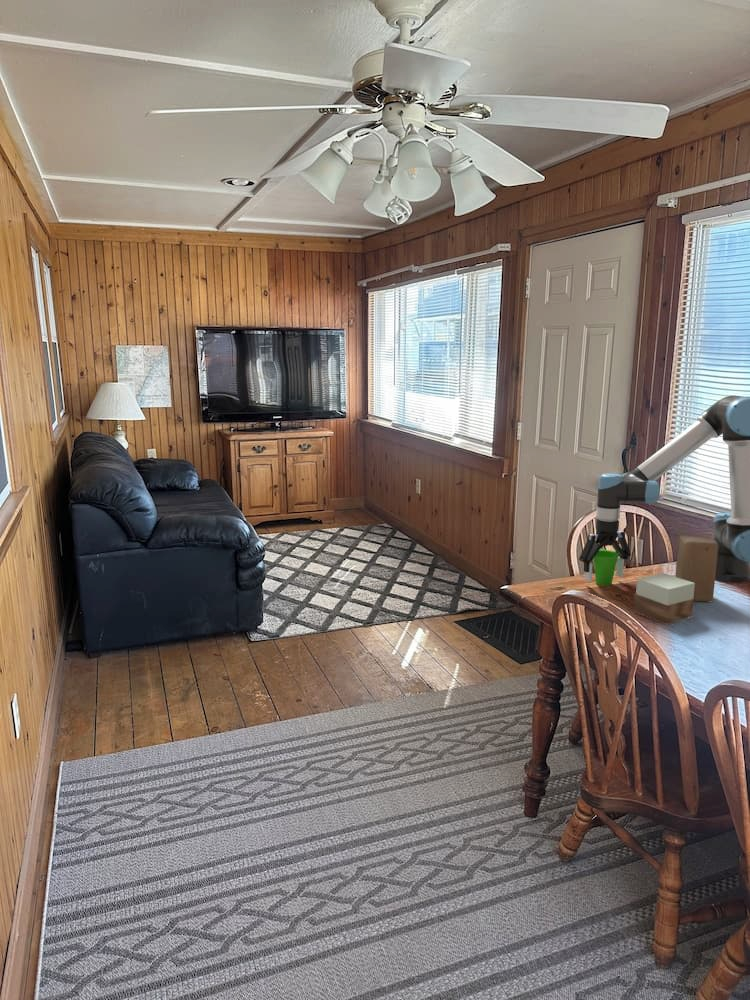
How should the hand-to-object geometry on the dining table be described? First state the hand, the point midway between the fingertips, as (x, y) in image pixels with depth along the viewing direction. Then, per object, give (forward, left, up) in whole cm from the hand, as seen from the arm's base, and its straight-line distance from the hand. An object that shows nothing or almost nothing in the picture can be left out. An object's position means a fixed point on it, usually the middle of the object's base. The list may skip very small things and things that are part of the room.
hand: (603, 578), depth 236 cm
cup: (0, 0, -2) cm, 2 cm away
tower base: (+2, +30, -2) cm, 30 cm away
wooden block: (-18, +22, -2) cm, 29 cm away
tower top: (+2, +30, +4) cm, 30 cm away
